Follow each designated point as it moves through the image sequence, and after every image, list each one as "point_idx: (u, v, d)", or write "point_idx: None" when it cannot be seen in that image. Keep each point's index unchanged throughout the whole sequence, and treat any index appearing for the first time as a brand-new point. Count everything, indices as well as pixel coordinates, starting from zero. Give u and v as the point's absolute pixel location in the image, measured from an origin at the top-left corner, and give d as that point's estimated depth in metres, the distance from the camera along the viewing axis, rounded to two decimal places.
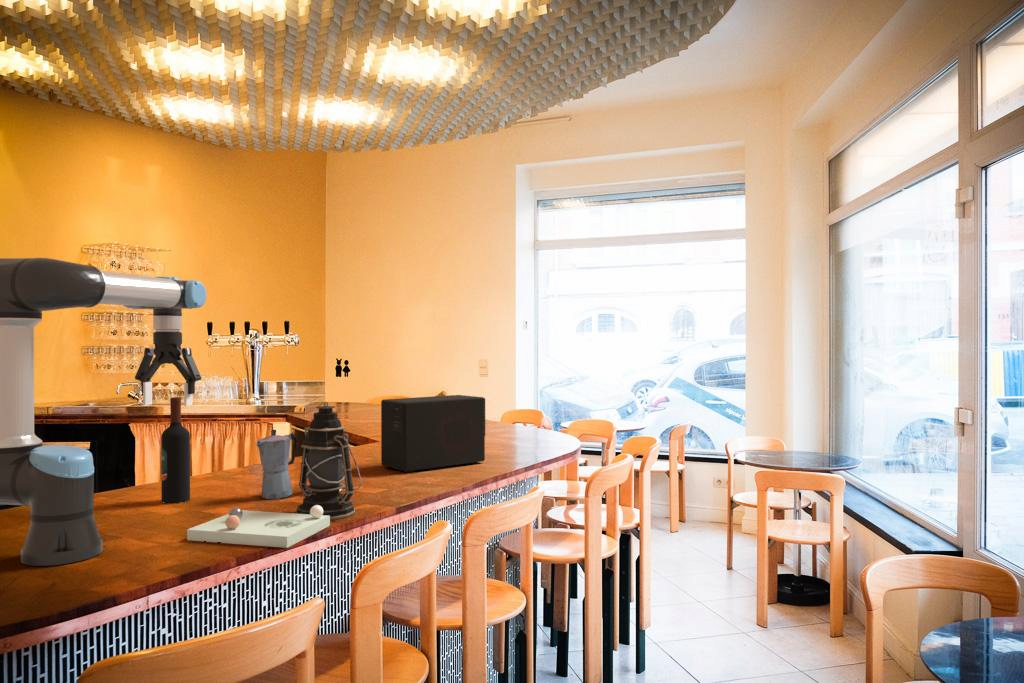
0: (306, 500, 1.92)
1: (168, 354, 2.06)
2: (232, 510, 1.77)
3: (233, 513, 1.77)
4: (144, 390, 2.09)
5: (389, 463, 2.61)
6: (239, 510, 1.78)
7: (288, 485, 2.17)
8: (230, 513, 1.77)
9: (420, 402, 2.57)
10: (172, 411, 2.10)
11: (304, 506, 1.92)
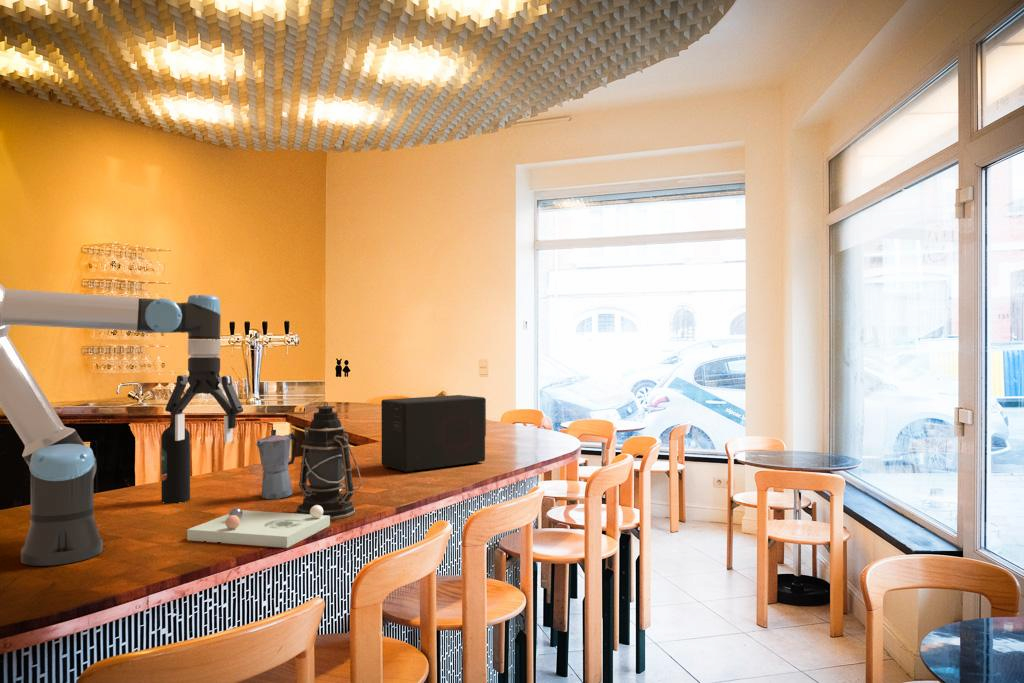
0: (306, 500, 1.92)
1: (205, 383, 1.81)
2: (232, 510, 1.77)
3: (233, 513, 1.77)
4: (176, 424, 1.84)
5: (389, 463, 2.61)
6: (239, 510, 1.78)
7: (288, 485, 2.17)
8: (230, 513, 1.77)
9: (420, 402, 2.57)
10: None
11: (304, 506, 1.92)
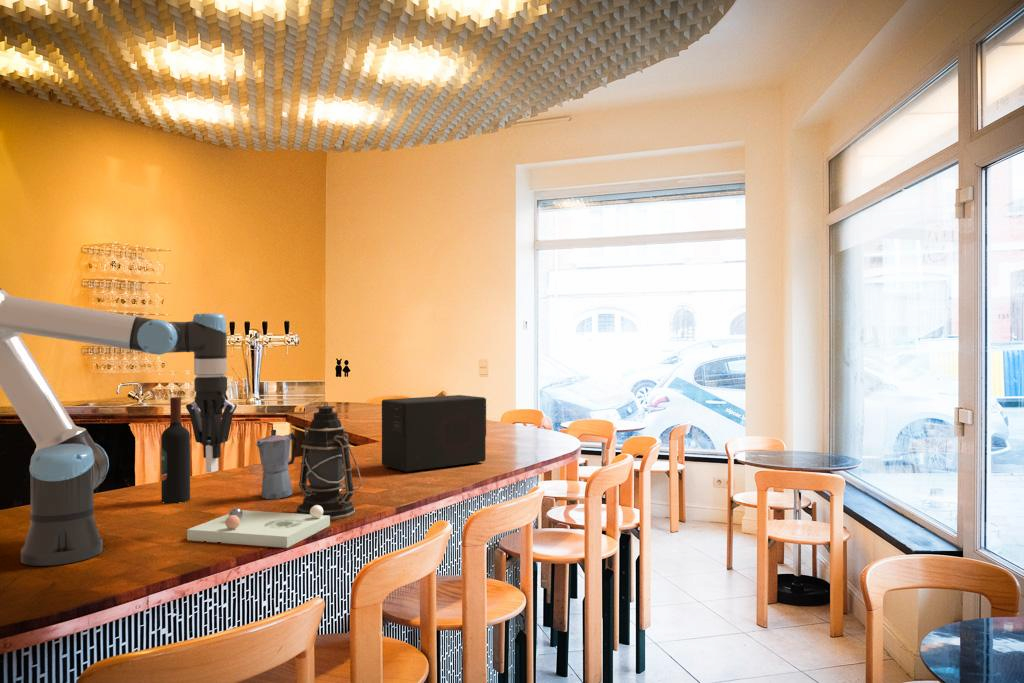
0: (306, 500, 1.92)
1: (211, 404, 1.78)
2: (232, 510, 1.77)
3: (233, 513, 1.77)
4: (207, 455, 1.79)
5: (390, 463, 2.61)
6: (239, 510, 1.78)
7: (288, 485, 2.17)
8: (230, 513, 1.77)
9: (420, 402, 2.57)
10: (172, 411, 2.10)
11: (304, 506, 1.92)
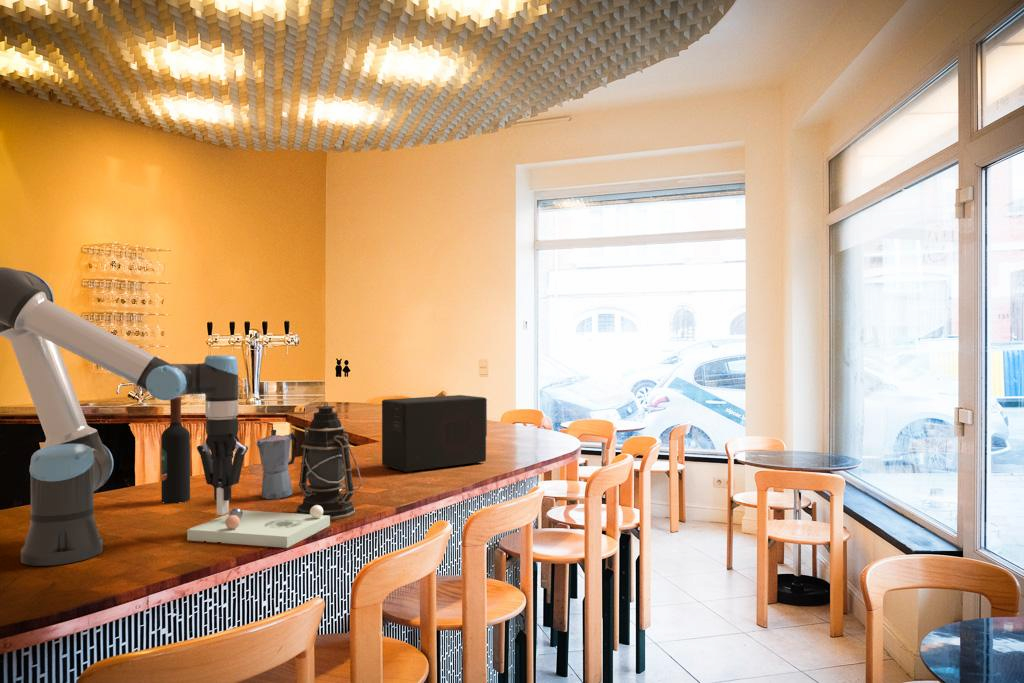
0: (306, 500, 1.92)
1: (222, 447, 1.77)
2: (232, 510, 1.77)
3: (233, 513, 1.77)
4: (218, 497, 1.78)
5: (390, 463, 2.61)
6: (239, 510, 1.78)
7: (288, 485, 2.17)
8: (230, 513, 1.77)
9: (420, 402, 2.57)
10: (172, 411, 2.10)
11: (304, 506, 1.92)
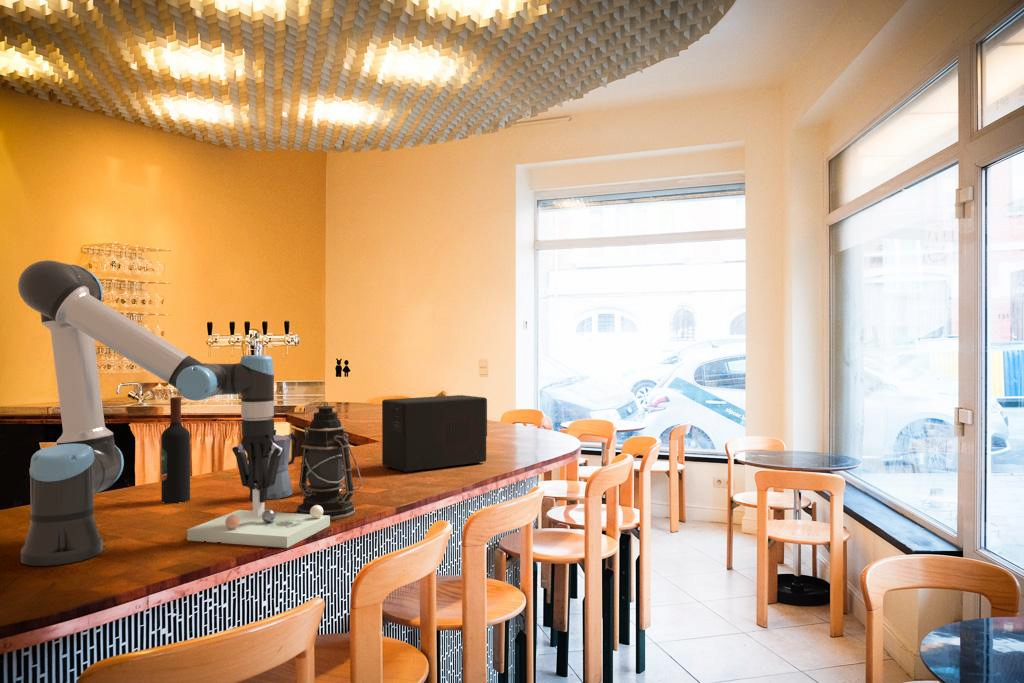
0: (306, 500, 1.92)
1: (259, 448, 1.75)
2: (262, 514, 1.76)
3: (264, 514, 1.75)
4: (254, 499, 1.76)
5: (390, 463, 2.61)
6: (268, 509, 1.76)
7: (288, 485, 2.17)
8: (262, 517, 1.75)
9: (420, 402, 2.56)
10: (172, 411, 2.10)
11: (304, 506, 1.92)
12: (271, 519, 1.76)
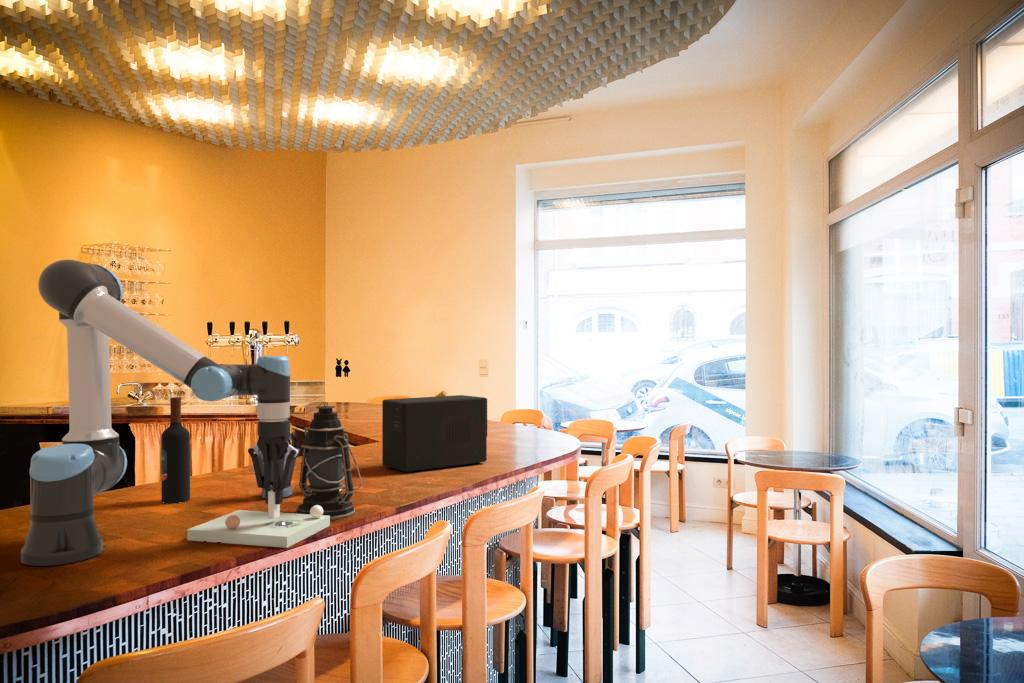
0: (306, 500, 1.92)
1: (275, 449, 1.74)
2: None
3: None
4: (269, 501, 1.75)
5: (390, 463, 2.61)
6: None
7: None
8: None
9: (420, 402, 2.56)
10: (172, 411, 2.10)
11: (304, 506, 1.92)
12: None
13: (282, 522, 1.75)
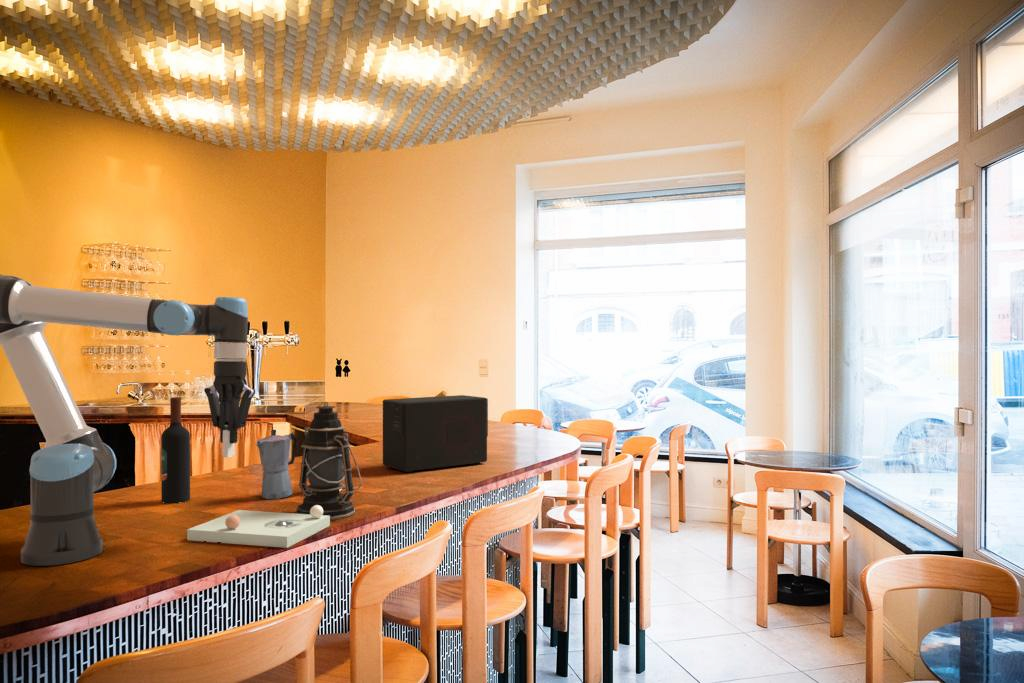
0: (306, 500, 1.92)
1: (230, 389, 1.76)
2: None
3: None
4: (224, 440, 1.77)
5: (390, 463, 2.61)
6: None
7: (288, 485, 2.17)
8: None
9: (420, 402, 2.56)
10: (172, 411, 2.10)
11: (304, 506, 1.92)
12: None
13: (283, 522, 1.75)
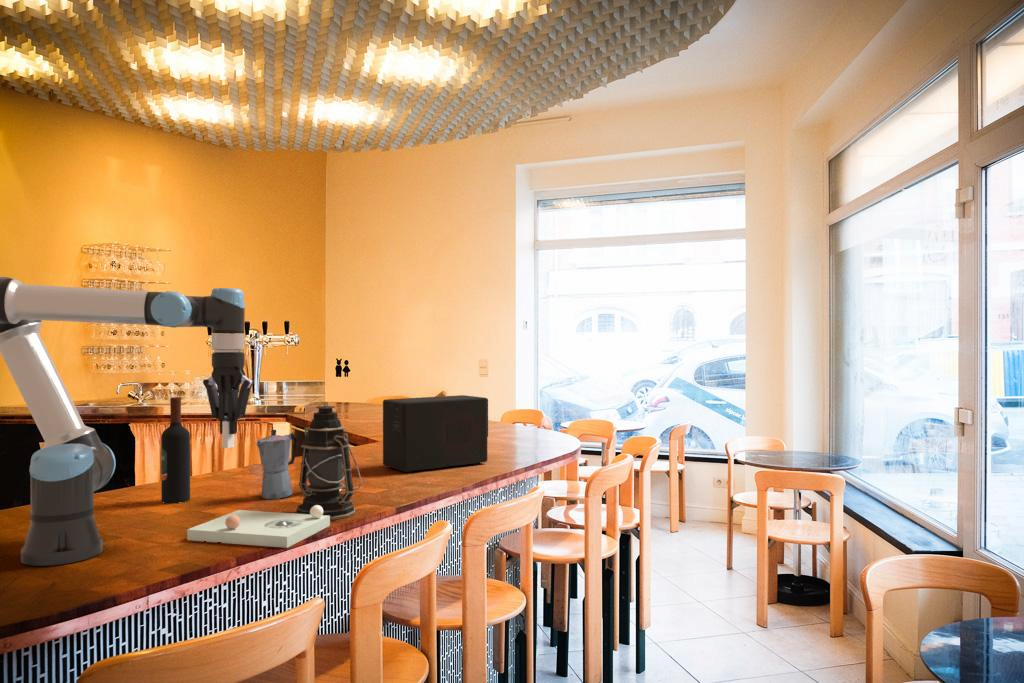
0: (306, 500, 1.92)
1: (228, 380, 1.77)
2: None
3: None
4: (223, 431, 1.78)
5: (390, 463, 2.61)
6: None
7: (288, 485, 2.17)
8: None
9: (420, 402, 2.56)
10: (172, 411, 2.10)
11: (304, 506, 1.92)
12: None
13: (284, 523, 1.75)
